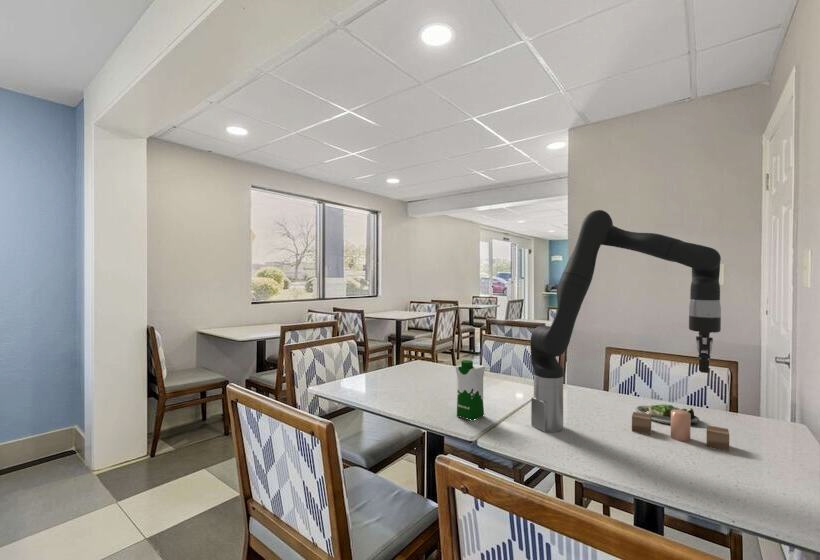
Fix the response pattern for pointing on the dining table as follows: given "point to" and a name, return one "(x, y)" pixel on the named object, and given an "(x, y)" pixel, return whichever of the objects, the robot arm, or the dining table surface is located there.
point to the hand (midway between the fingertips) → (703, 369)
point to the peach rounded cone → (680, 425)
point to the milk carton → (470, 390)
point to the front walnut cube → (717, 438)
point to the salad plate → (665, 413)
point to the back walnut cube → (641, 423)
